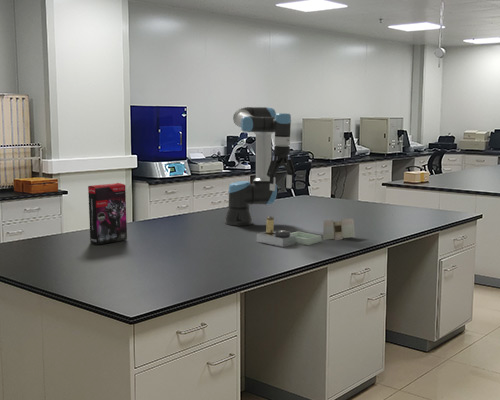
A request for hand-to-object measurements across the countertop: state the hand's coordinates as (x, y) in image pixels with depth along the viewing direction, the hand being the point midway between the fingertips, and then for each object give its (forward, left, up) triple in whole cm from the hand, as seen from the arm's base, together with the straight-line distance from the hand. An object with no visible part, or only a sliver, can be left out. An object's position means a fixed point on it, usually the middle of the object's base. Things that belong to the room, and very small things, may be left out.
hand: (280, 189), depth 297 cm
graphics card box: (-54, -63, -26) cm, 86 cm away
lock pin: (-2, -6, -25) cm, 26 cm away
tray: (+9, +6, -25) cm, 28 cm away
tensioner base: (+2, -6, -25) cm, 26 cm away
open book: (+17, +27, -26) cm, 41 cm away
